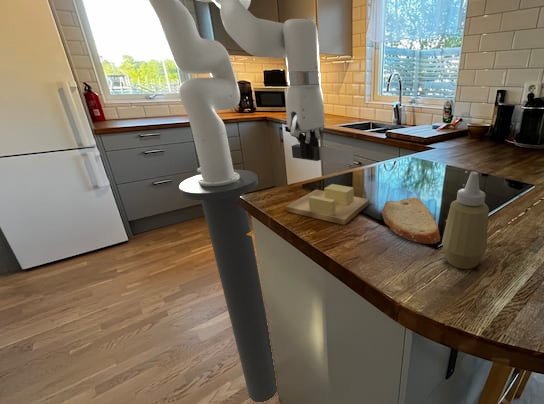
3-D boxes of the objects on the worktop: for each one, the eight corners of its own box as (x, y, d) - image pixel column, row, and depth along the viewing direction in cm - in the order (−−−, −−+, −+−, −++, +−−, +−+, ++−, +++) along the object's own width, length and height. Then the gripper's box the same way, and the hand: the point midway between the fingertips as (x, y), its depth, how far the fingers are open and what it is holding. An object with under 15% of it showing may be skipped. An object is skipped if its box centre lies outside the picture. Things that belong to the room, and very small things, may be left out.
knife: (292, 157, 79) (291, 144, 77) (298, 155, 81) (297, 142, 79) (351, 166, 71) (351, 151, 70) (356, 163, 73) (356, 149, 72)
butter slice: (309, 210, 76) (308, 197, 75) (312, 208, 78) (311, 195, 76) (332, 216, 73) (331, 202, 72) (335, 213, 75) (335, 199, 73)
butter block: (325, 201, 82) (324, 188, 81) (332, 196, 85) (332, 183, 84) (347, 205, 79) (346, 192, 78) (354, 200, 82) (353, 187, 81)
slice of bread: (434, 248, 62) (436, 232, 61) (361, 227, 71) (361, 213, 69) (458, 216, 76) (460, 202, 75) (394, 201, 85) (395, 189, 83)
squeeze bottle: (441, 247, 63) (450, 164, 55) (482, 253, 60) (497, 168, 53) (438, 269, 56) (449, 178, 48) (484, 277, 53) (502, 182, 46)
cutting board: (286, 211, 80) (285, 206, 79) (316, 193, 91) (316, 189, 91) (344, 225, 72) (344, 219, 72) (369, 204, 84) (369, 199, 83)
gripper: (311, 79, 78) (316, 148, 86) (268, 81, 65) (278, 162, 73) (336, 79, 75) (338, 151, 82) (295, 81, 62) (302, 166, 69)
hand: (310, 156), depth 77 cm, fingers closed on knife, 2 cm apart
